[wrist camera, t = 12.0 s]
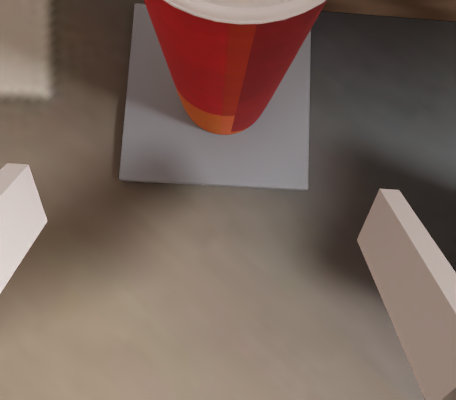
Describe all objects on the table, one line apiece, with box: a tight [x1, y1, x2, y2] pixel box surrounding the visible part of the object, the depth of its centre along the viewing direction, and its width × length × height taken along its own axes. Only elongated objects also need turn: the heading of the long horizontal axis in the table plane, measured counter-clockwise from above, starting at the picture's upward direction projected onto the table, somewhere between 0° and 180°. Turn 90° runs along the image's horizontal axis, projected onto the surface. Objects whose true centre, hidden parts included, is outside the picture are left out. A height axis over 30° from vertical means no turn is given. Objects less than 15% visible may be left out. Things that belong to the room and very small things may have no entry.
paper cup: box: [144, 0, 327, 135], centre depth 15 cm, size 8×8×14 cm
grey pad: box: [119, 3, 311, 191], centre depth 22 cm, size 12×12×1 cm
